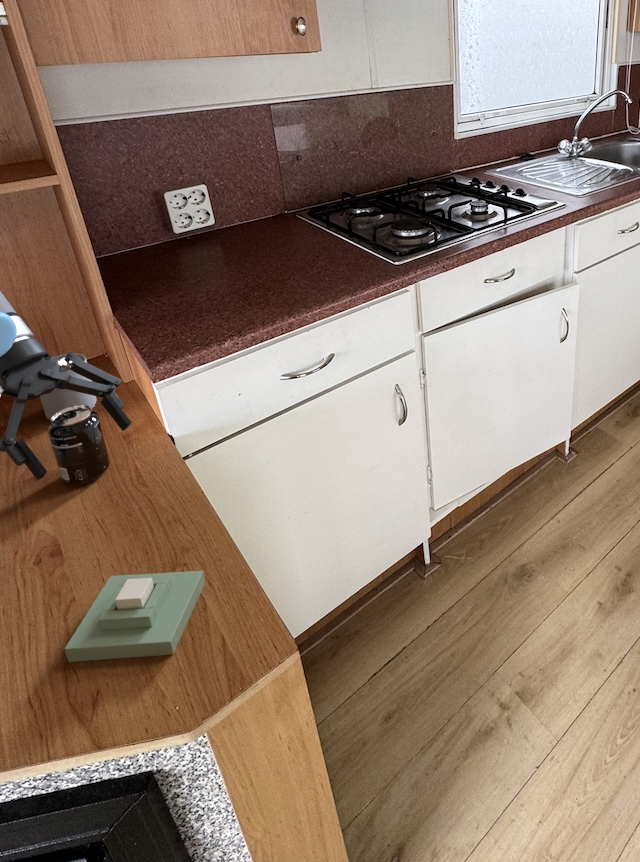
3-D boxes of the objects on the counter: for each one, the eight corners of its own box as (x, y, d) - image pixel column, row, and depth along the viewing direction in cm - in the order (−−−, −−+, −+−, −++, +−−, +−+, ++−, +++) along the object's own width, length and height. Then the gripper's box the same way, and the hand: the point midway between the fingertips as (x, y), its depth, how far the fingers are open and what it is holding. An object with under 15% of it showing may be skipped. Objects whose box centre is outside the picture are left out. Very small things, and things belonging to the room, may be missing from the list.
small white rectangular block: (117, 610, 71) (114, 600, 71) (130, 589, 74) (127, 578, 73) (143, 609, 71) (140, 598, 71) (154, 587, 74) (152, 577, 74)
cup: (104, 394, 120) (93, 352, 117) (84, 418, 113) (72, 373, 109) (59, 397, 119) (47, 355, 116) (36, 422, 111) (22, 377, 108)
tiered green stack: (68, 662, 69) (60, 638, 67) (113, 587, 78) (107, 565, 77) (173, 654, 70) (167, 631, 68) (205, 582, 79) (201, 560, 78)
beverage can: (95, 456, 102) (80, 398, 98) (120, 468, 100) (105, 409, 96) (53, 480, 97) (35, 420, 93) (78, 494, 94) (61, 432, 90)
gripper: (81, 329, 109) (150, 417, 108) (-89, 398, 88) (-5, 508, 87) (93, 309, 105) (164, 401, 105) (-82, 376, 84) (5, 491, 83)
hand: (87, 450), depth 96 cm, fingers open, 13 cm apart
